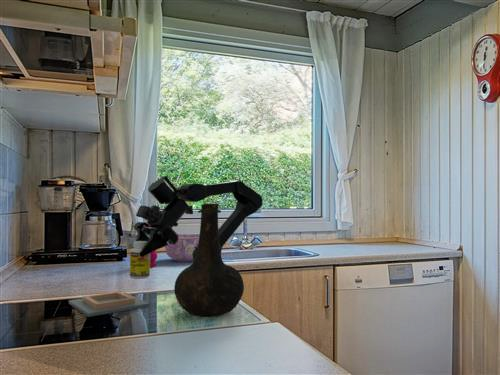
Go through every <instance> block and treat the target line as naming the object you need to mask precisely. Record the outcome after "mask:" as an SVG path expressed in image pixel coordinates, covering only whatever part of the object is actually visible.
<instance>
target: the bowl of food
mask: <svg viewBox="0 0 500 375" xmlns="http://www.w3.org/2000/svg"><path fill="white" fill-rule="evenodd" d="M177 234H178V241H177V242H176V244H175V245H172V244H169V241H168V242H167V243H168V245H167V246H164V249H165V253H166V255H167V257H169V258H170V259H172V260H174V262H179V263H181V262H182V263H184V262H185V263H186V262H192V261H193V255H192V253H193V251H194V250H195V249H196V248H194V247H195V246H197V245H198V243H199V235H200V234H188V233H187V234H182V233H181V234H179V233H177Z"/></svg>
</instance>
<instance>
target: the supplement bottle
mask: <svg viewBox="0 0 500 375" xmlns="http://www.w3.org/2000/svg"><path fill="white" fill-rule="evenodd" d="M146 243H147V241H136V240H134V241H133V243H132V244H133V245H132V247H134V248H130V251H129V277H130V278H131V279H135V280H142V279H148V278H150V275H151V274H150V272H151V271H150V270H151V268H150V253H149V254H147V255H145V256H143V257H141V256H140V255H139V253H140V252H141V250H142V249H143V247H144V246H145V244H146Z"/></svg>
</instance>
